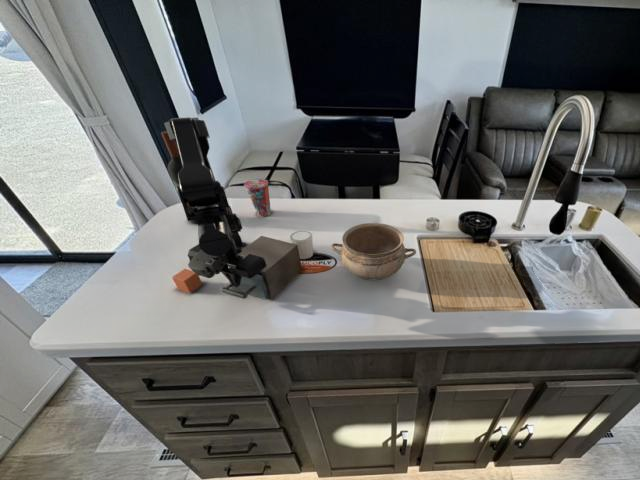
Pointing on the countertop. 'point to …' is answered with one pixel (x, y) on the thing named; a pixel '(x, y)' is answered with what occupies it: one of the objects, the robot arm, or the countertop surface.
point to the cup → (259, 195)
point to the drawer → (249, 287)
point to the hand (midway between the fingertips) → (237, 286)
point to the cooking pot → (373, 250)
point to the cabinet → (276, 262)
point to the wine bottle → (175, 164)
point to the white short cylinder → (303, 243)
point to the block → (187, 280)
